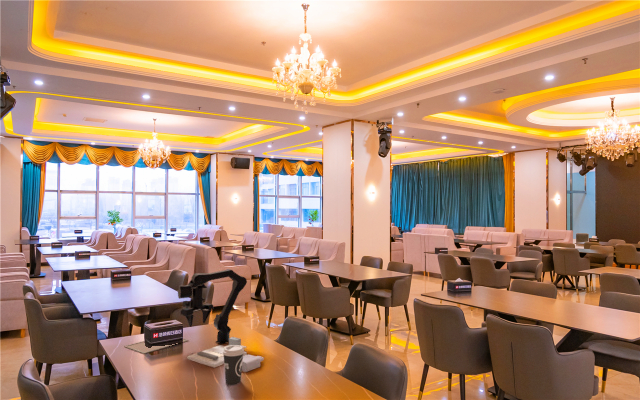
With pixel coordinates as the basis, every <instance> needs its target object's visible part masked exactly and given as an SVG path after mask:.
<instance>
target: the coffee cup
mask: <svg viewBox="0 0 640 400" xmlns="http://www.w3.org/2000/svg"><path fill="white" fill-rule="evenodd" d="M226 346H227V345H226ZM242 346H243V345H242ZM242 346H240V345H230V346H227V347H225V348H224V350H223V353H222V354H223V355H224V364H223V365H224V377H225V384H226V385H229V386H234V385H238V384H240V383H241V381H242V380H241V379H242V372H243V371H242V361H243V353H244V351H245V348H244V349H243V347H242Z"/></svg>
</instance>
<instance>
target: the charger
mask: <svg viewBox="0 0 640 400" xmlns="http://www.w3.org/2000/svg"><path fill="white" fill-rule="evenodd" d="M264 359H265V357H263V356H260V355H257V356H256V355H251V354H247V355H245V356H243V361H242V372H243V373H248V372H249V371H252V370H255V369H258V368H260V367H261V362H263V361H264Z"/></svg>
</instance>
